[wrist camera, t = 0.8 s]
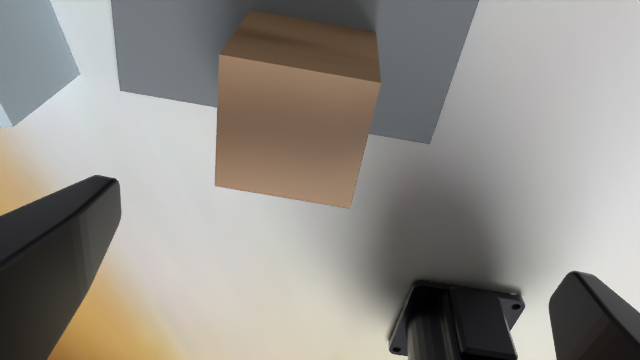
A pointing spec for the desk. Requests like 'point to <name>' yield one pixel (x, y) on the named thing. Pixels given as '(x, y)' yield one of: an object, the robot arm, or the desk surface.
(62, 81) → the block
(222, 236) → the desk surface
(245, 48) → the walnut block
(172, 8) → the build mat
